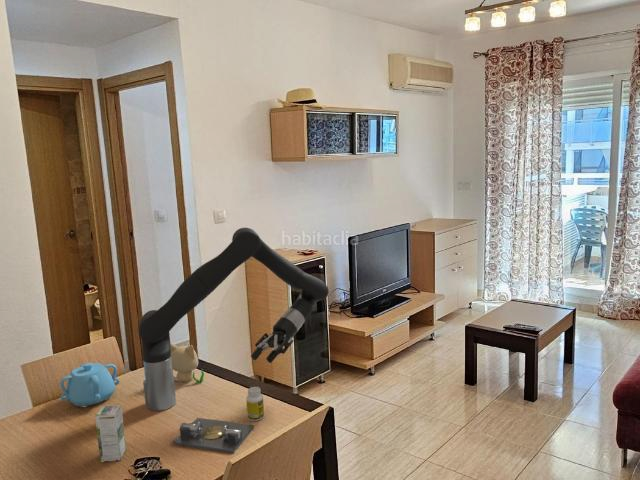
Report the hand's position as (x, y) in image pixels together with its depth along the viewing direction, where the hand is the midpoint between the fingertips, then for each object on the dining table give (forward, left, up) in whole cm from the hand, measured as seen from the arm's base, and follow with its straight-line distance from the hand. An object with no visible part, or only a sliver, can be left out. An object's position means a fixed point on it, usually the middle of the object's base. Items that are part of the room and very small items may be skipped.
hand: (260, 359), depth 167 cm
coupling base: (-9, -18, -18) cm, 27 cm away
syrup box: (-33, -34, -18) cm, 50 cm away
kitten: (-39, +15, -18) cm, 45 cm away
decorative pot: (-65, -6, -18) cm, 68 cm away
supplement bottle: (-1, -5, -18) cm, 19 cm away
